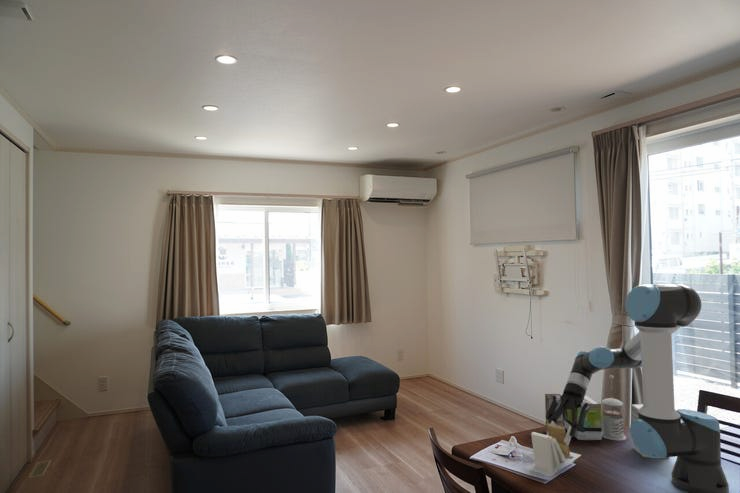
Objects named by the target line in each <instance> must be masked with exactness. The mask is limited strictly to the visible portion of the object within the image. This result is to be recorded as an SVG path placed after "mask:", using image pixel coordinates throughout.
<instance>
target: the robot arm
mask: <svg viewBox="0 0 740 493" xmlns="http://www.w3.org/2000/svg"><path fill="white" fill-rule="evenodd" d="M701 310H702V300H701V296H700V295H699V293H698V292H697V291H696V290H695V289H693V288H692V287H690V286H688V285H685V284H683V283H655V284H654V283H653V284H652V283H649V284H647V283H646V284H639V285H636V286H635V287H633V288H632V289H631V291H629V292H628V294H627V296H626V299H625V312H626V313H627V314H628V315H627V316H628V317H629V319H631V321H633V322H634V326H635V328H637V329H638V332H637V333H636V334H635V335H634V336H633V337H632V338H631V339H630V340H629V341H627V343H626V344H625V345H623V347H621V348H608V347H606V346H597V347H595V348H592V349H591V350H590V351H586V350H584V351H582V350H581V351H579V352H578V353H577V355H576V356H575V358H574V362H573V365H572V368H571V371H570V372H569V375H568V378H567V380H566V383H565V385H564V389H563V392H562V394H561V397H556V396H553V401H552V404H551V406H550V408H549V410H548V412H547V414H546V415H545V419H546V418H547V420H548V421H549V424H553V425H556V424H555V422H556V421H557V420H558V418H559V417H560V416H561V414H562V413H563V412H564V411H566V409H570V410H572V426H570V425H569V428H568V430H567V432H566V437H565V439H564V442H565V444H566V445H567V446H568V447H569V445H570V443H571V439H572V438H574V437H575V436H574V435H575V432H576V430H577V429H580V430H582V429H583V426H584V422H585V418H586V414H587V411H588V410H589V409H590V407H589V405H588V403H584V402H583V400H584V397H585V394H586V393H587V390H588V389H589V388H588V387H589V385H590V383H591V379H592V376H593V375H594V374H595V373H597V372H600V371H603V370H616V369H617V370H618V369H619V370H620V369H621V370H622V369H636V368H641V381H642V382H641V383H642V384H641V385H642V405H643V406H642V407H641V408H640V409H639V410H638V419H635V420H633V421H632V420H631V423H630V427H629V430H630V431H629V432H630V435H631V439H632V442H633V441H634V443H635V445H636V446H637V448H638V449H639V450H640V451H641V452H642V453H643V454H644V455H646V456H648V457H647V458H651V459H652V458H653V459H665V457H669V458H673V457H674V458H675V457H676V460H675V463H674V466H673V468H672V470H671V471H672V472H671V482H672V483H673V484H674V486H675V487H677V488H679V489H681V490H683V491H685V492H687V493H729V492H730V487H729V486H730V485H729V482H728V479H727V476H726V474H725V472H724V470H723V466H722V455H721V454H722V452H721V445H722V444H721V432H722V431H721V428H720V421H719V420H718V419H717V417H715V416H713V415H710V414H708V413H705V412H701V411H697V410H691V409H681V408H679V409H675V407H676V406H675V392H674V391H675V389H674V386H675V385H674V364H673V361H674V360H673V343H672V342H673V341H672V339H673V338H672V335H673V334H674V333H675V332H676V331H678V330H679V329H680V328H684V327H687V326H689V325H690V324H691V323H692V322H694V321H695V320H696V319H697V318H698V316H699V314H700V312H701ZM586 395H587V394H586ZM560 401H561V404H560V406H559V407H558V409H557V410H556V408H557V405H558V403H559V402H560ZM580 406H582V409H581V413H580V416H579V420H578V424H577V413H578V408H579V407H580ZM555 410H556V411H555ZM546 435H548V436H549V434H548V432H547V433H546Z"/></svg>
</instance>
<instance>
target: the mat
mask: <svg viewBox="0 0 740 493" xmlns="http://www.w3.org/2000/svg"><path fill="white" fill-rule="evenodd" d="M581 456H582V454H579V453H575V452H572V451H570V456H569V458H567V457H565V458H566V460H565V463H564V462H560V461H559V462H560V464H559V466H558V467H557V466H554V465H553V468H554V469H553V470H552V471H549V470H546V469H543V468H540V467H537V466H535V462H533V463H532V464H530V465H528V466H527V467H524V468H525V470H529V471H531V472H535V473H537V474H541V475H543V476H547V477H552V476H553V475H555V474H556V473H557V472H559V471H560V470H562V469H563V468H565V467H566V466H568V465H569V464H571V463H572V462H574V461H576V460H577V459H578V458H580V457H581Z"/></svg>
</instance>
